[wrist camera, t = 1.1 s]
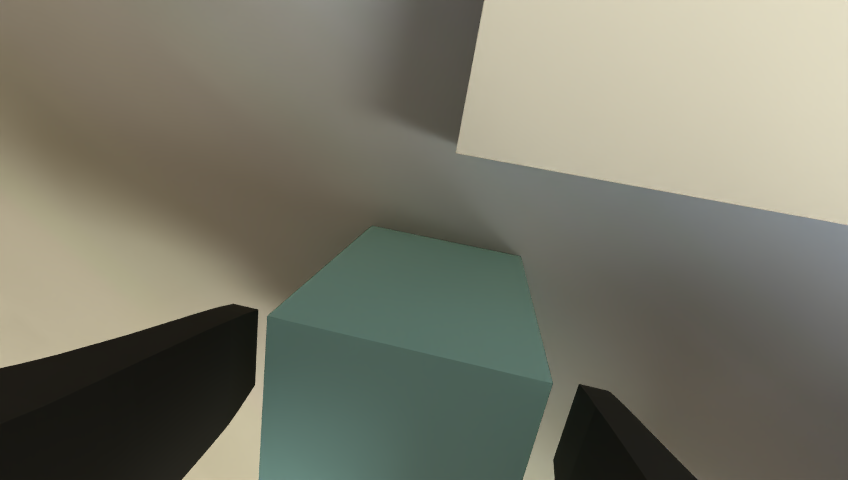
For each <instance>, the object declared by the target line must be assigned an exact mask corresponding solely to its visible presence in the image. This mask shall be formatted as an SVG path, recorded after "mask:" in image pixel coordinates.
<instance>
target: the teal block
mask: <svg viewBox="0 0 848 480" xmlns="http://www.w3.org/2000/svg"><path fill="white" fill-rule="evenodd" d="M552 385H553V382H552V378H551V374H550V370H549V366H548V362H547V358H546V354H545V350H544V346H543V342H542V339H541V335H540V331H539V327H538V323H537V319H536V315H535V311H534V307H533V303H532V299H531V295H530V291H529V287H528V283H527V279H526V275H525V271H524V267H523V263H522V259H521V256H516V255H511V254H507V253H502V252H497V251H492V250H487V249H482V248H478V247H473V246H468V245H463V244H458V243H453V242H449V241H444V240H439V239H434V238H429V237H424V236H419V235H415V234H410V233H405V232H400V231H395V230H390V229H386V228H381V227H376V226H371V227H370V228H369V229H367V230H366V231H365V232H364V233H363V234H362V235H361V236H359V237H358V238H357V239H356V240H355V241H354V242H352V243H351V244H350V245H349V246H348V247H347V248H345V249H344V250H343V251H342V252H341V253H340V254H339V255H337V256H336V257H335V258H334V259H333V260H332V261H330V262H329V263H328V264H327V265H326V266H325V267H323V268H322V269H321V270H320V271H319V272H318V273H317V274H315V275H314V276H313V277H312V278H311V279H310V280H308V281H307V282H306V283H305V284H304V285H303V286H301V287H300V288H299V289H298V290H297V291H296V292H295V293H293V294H292V295H291V296H290V297H289V298H288V299H286V300H285V301H284V302H283V303H282V304H281V305H279V306H278V307H277V308H276V309H275V310H274V311H273V312H271V313H270V314H269V315H268V316H267V332H266V351H265V370H264V389H263V408H262V427H261V446H260V465H259V480H523V477H524V473H525V470H526V467H527V464H528V461H529V458H530V454H531V451H532V448H533V445H534V442H535V439H536V435H537V432H538V429H539V426H540V423H541V419H542V416H543V413H544V410H545V407H546V404H547V400H548V397H549V394H550V391H551V388H552Z"/></svg>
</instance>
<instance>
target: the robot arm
mask: <svg viewBox="0 0 848 480" xmlns="http://www.w3.org/2000/svg"><path fill="white" fill-rule="evenodd" d="M257 327H258V309H253V308H249V307H245V306H240V305H236V304H231V305H226V306H221V307H218V308H214V309H210V310H207V311H203V312H200V313H197V314H193V315H190V316H187V317H184V318H180V319H177V320H174V321H171V322H168V323H164V324H161V325H158V326H155V327H151V328H148V329H145V330H142V331H139V332H135V333H132V334H129V335H126V336H122V337H118V338H115V339H111V340H108V341H104V342H101V343H97V344H94V345H90V346H87V347H83V348H79V349H76V350H72V351H69V352H65V353H62V354H58V355H54V356H50V357H46V358H42V359H38V360H34V361H30V362H26V363H22V364H17V365H13V366H8V367H4V368H0V480H182V479H183V478H184V476H185V475H186V474H187V473H188V472H189V471H190V469H191V468H192V467H193V466H194V465H195V464H196V462H197V461H198V460H199V459H200V458H201V457H202V456H203V454H204V453H205V452H206V451H207V450H208V448H209V447H210V446H211V445H212V444H213V443H214V441H215V440H216V439H217V438H218V437H219V435H220V434H221V433H222V432H223V431H224V429H225V428H226V427H227V426H228V425H229V423H230V422H231V420H232V419H233V417H234V416H235V415H236V413H237V412H238V410H239V409H240V407H241V406H242V404H243V403H244V401H245V400H246V398H247V396H248V395H249V393H250V392H251V390H252V389H253V387H254V386H255V374H256V351H257ZM553 462H554V475H555V480H697V479H696V478H695V477H694V476H693V475H692V474H691V473H690V472H689V471H688V470H687V469H686V468H685V467H684V466H683V465H682V464H681V463H680V462H679V461H678V460H677V459H676V458H675V457H674V456H673V455H672V454H671V453H670V452H669V451H668V450H667V449H666V448H665V446H664V445H663V444H662V443H661V442H660V441H659V440H658V439H657V438H656V437H655V436H654V435H653V434H652V433H651V432H650V431H649V430H648V429H647V428H646V427H645V426H644V425H643V424H642V423H641V422H640V421H639V420H638V419H637V418H636V417H635V416H634V415H633V414H632V413H631V412H630V411H629V410H628V409H627V408H626V407H625V406H624V405H623V404H622V403H621V402H620V401H619V400H618V399H617V398H616V397H615V396H614V395H613V394H612V393H610V392H609V391H607V390H602V389H598V388H594V387H589V386H585V385H581V384H579V386H578V389H577V392H576V394H575V397H574V400H573V403H572V406H571V409H570V412H569V415H568V418H567V421H566V424H565V427H564V430H563V433H562V436H561V439H560V442H559V445H558V448H557V450H556V453H555V456H554V459H553Z"/></svg>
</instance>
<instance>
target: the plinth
mask: <svg viewBox="0 0 848 480" xmlns="http://www.w3.org/2000/svg"><path fill="white" fill-rule="evenodd" d="M456 153H457V154H463V155H468V156H474V157H479V158H485V159H490V160H496V161H501V162H507V163H512V164H517V165H523V166H528V167H534V168H539V169H545V170H550V171H556V172H561V173H567V174H572V175H577V176H583V177H588V178H594V179H599V180H605V181H610V182H616V183H621V184H627V185H632V186H637V187H643V188H648V189H654V190H659V191H665V192H670V193H676V194H681V195H687V196H692V197H698V198H703V199H708V200H714V201H719V202H725V203H730V204H736V205H741V206H747V207H752V208H758V209H763V210H768V211H774V212H779V213H785V214H790V215H796V216H801V217H807V218H812V219H818V220H823V221H829V222H834V223H839V224H845V225H848V0H484V4H483V10H482V15H481V20H480V26H479V31H478V36H477V42H476V47H475V53H474V58H473V63H472V69H471V74H470V79H469V85H468V90H467V95H466V101H465V106H464V111H463V117H462V122H461V127H460V133H459V138H458V143H457V149H456Z"/></svg>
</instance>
